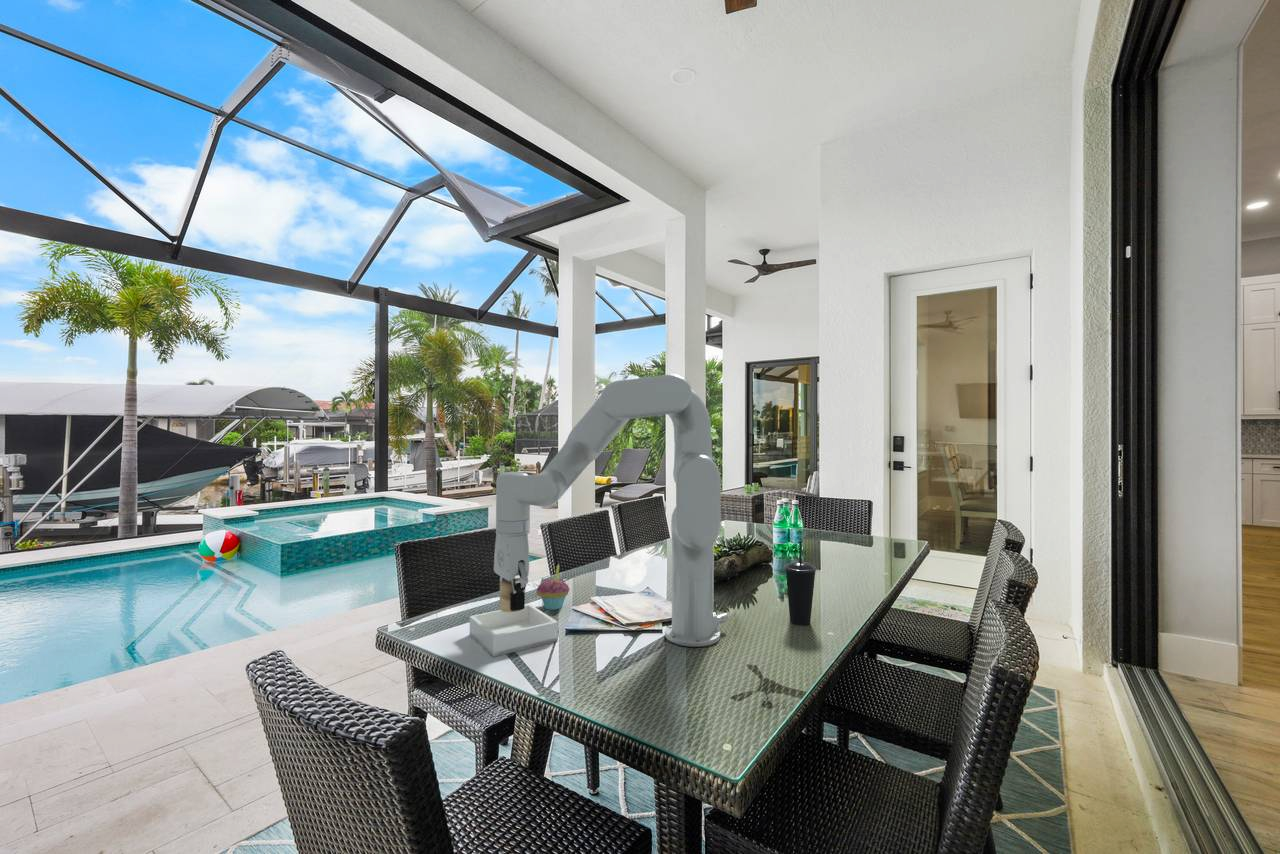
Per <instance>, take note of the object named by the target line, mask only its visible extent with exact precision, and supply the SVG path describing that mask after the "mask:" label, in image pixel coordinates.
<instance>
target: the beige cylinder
mask: <svg viewBox="0 0 1280 854" xmlns="http://www.w3.org/2000/svg"><path fill="white" fill-rule="evenodd" d="M499 582H500V583H499V610H501V611H503V612H517V611H520V610H516V611H511V610H510V593H512V587H511V581H507V580H506V579H505V580H502V581H500V580H499ZM517 583H519V581H515V584H516V585H517ZM521 610H522V609H521Z"/></svg>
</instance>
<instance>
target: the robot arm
mask: <svg viewBox="0 0 1280 854" xmlns="http://www.w3.org/2000/svg"><path fill="white" fill-rule="evenodd" d="M600 394H601V395H600V396H599V397H598V398H597V399H596V401H595V402H594V403H593V404H592V406H591V407H589V408H588V410H587V411H586V413H585V414H584V415H583V416H582V417H581V419H580V420H579V421H578V422H577V423H575V425H574V426H573V428H572V430H571V431H570V432H569V434H568V436H567V438H566V441H565V442H564V444H563V445H562V447H561V449H559V451H558V452H557V453H556V455H555V456H554V457H553V458H552V459H551V460H550V462H549V463H548V464H547V465H546V466H545V468H544V469H543V470H542V471H541V472H540V473H534V474H528V473H526V472H523V471H507V472H501V473H499V474H498V475H497V477H496V483H495V484H496V486H495V487H496V488H495V490H496V491H495V499H496V501H495V534H496V536H495V542H494V543H495V544H494V556H493V557H494V558H493V572H494V573H495V574H496V575H498V576H499V584H500V581H502V580H505V579H506V580H507V581H511V587H512V593H510V610H511V611H516V610H521V609H524V607H525V605H526V603H525V600H526V598H525V597H526V596H525V595H526V594H525V593H526V589H527V588H526V587H527V585H528V583H529V575H530V574H529V573H530V549H529V548H530V546H529V537H528V534H530V532H531V531H530V526H531V523H530V521H531V518H530V517H531V516H530V515H531V512H530V511H531V506H536V507H543V508H544V507H545V508H547V507H550V506H551V507H552V506H553V505H555V504H557V503H558V502H559V500H560V499H561V498H562V496H564V494H565V493H566V492H567V491H568V490H569V488H570V487H571V486H572V485H573V484H574V482H575V481H577V479H578V478H579V476H581V474H582V473H583V472H584V471H585V470H586V469H587V467H588V466H589V465H590V464H591V463H592V462H593V461H595V460H596V459H598V457H599V456H600V455H601V453H603V451H604V450H605V449H606V447H607V446H608V445H610V443H611V442H612V440H613V439H614V438H615V437H616V435H618V433H619V432H620V431H621V430H622V429H623V427H624V426H625V425H626V424H627V423H628V422H629V421H630V420H632V419H641V418H642V419H643V418H648V417H657V416H665V415H667V416H668V417H669V418H670V419H671V422H672V425H673V440H674V460H673V461H674V462H673V472H672V475H673V476H672V477H673V479H674V482H675V483H674V484H675V497H676V498H675V500H676V503H675V504H676V505H675V508H674V509H673V511H672V514H671V522H670V524H671V525H670V527H671V528H670V529H671V556H672V557H671V560H672V562H671V565H672V567H671V625H669V626H667V627H666V628H665V630H664V637H665V638H666V640H668V641H669V642H671V643H673V644H675V645H679V646H681V647H682V646H684V647H691V648H692V647H693V648H695V647H696V648H699V647H708V646H711V645H714V644H716V643H718V642H719V641H720V639H721V631H720V630H719V629H718V628H717V627H718V626H719V625H720V624H724V623H727V622H728V621H729V615H728V613H722V614H719V615H717V613H716V612H714V599H715V597H714V591H715V590H714V586H715V585H714V581H715V580H714V579H715V577H714V576H715V575H714V573H715V572H714V570H715V552H714V551H715V550H714V549H715V548H714V547H715V546H714V543H715V542H716V541H717V539H718V538H719V535H720V531H721V524H722V523H721V521H722V520H721V519H722V518H721V517H722V516H721V515H722V511H721V510H722V485H721V484H722V483H721V482H722V481H721V474H720V473H721V472H720V469H719V467H718V465H717V463H716V462H715V461H714V459H713V449H712V446H713V443H712V424H711V418H710V414H709V411H708V408H707V406H706V404H705V403H704V401H703V399H702V398H701V397H700V396H699V395H698V394H697V392H695V391H694V390H693V389H692V387H691V385H690V383H689V382H688V381H687V379H686V378H684V377H683V376H681V375H678V374H672V373H671V374H662V375H655V376H648V377H647V376H646V377H639V378H631V379H622V380H615V381H612V382H610V383H607V385H605V387H604V388H603V390H602V391H601V393H600ZM517 576H519V577H517ZM515 581H519V583H517V585H516V584H515Z"/></svg>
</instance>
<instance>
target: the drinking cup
mask: <svg viewBox="0 0 1280 854" xmlns="http://www.w3.org/2000/svg"><path fill="white" fill-rule="evenodd" d="M783 567H784V569H785V577H786V579H785V580H786V589H787V599H788V601H787V602H788V612H789V614H788V615H789V622H790V623H791V624H793V625H797V626H808V625H810V624H811V620H812V609H813V599H814V588H815V580H816V579H815V577H816V572H817V567H816V566H815V565H813V564H811V563H809V562H806V561H803V541H802V540H799V541H798V560H797V561H792V562H790V563H787V564H784V566H783Z"/></svg>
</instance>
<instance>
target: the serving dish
mask: <svg viewBox="0 0 1280 854" xmlns="http://www.w3.org/2000/svg"><path fill="white" fill-rule="evenodd" d="M558 625H559V622H558V621H557V620H556V619H554V618H552V617H551V616H550V615H548V614H546V613H545V612H543V611H542V610H540V609H539V608H537V607H535V606H534V605H533V604H531V603H529V604H525V607H524V609H522V610H520V611H517V612H503V611H501V610H500V609H498V610H494V611H489V612H483V613H479V614H474V615H473V614H472V615H470V616H469V635H470V636H471V638H473V640H475V641H476V642H477V644H479V645H480V646H481V647H482V648H483V649H484V650H485V651H486V652H487V653H488V654H490V656H492V658H495V657H499V656H503V655H507V654H510V653H515V652H519V651H522V650H527V649H531V648H535V647H539V646H543V645H547V644H551V643H554V642H558V641H559V640H558V639H559V632H558V630H559V629H558Z"/></svg>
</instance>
